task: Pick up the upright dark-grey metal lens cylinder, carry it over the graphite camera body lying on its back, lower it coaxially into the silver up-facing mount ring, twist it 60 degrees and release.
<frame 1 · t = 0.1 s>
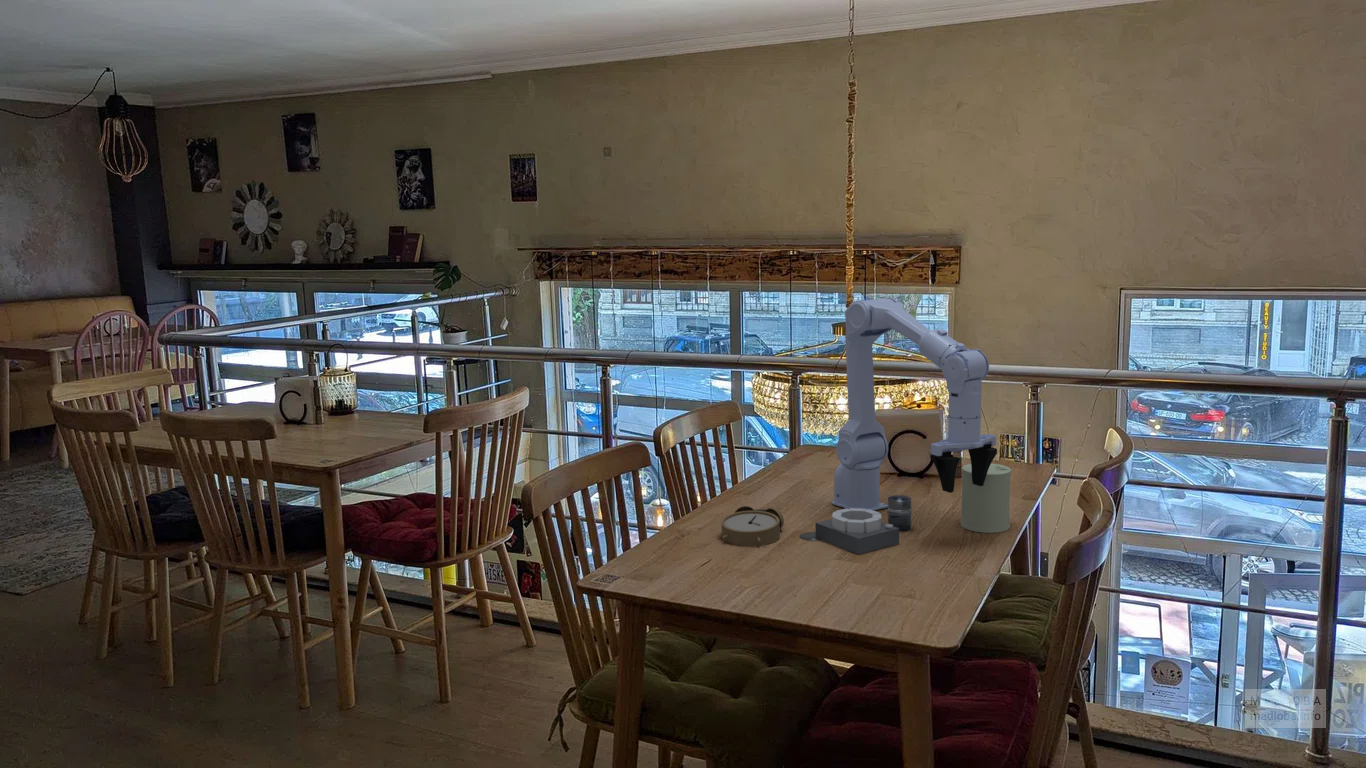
hand: (963, 488, 179), 10 cm above the table, fingers open, 7 cm apart
lens: (899, 527, 189), on the table
alarm clock: (753, 536, 188), on the table
lens cap: (812, 540, 186), on the table, touching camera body
can: (985, 526, 189), on the table
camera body: (856, 540, 182), on the table
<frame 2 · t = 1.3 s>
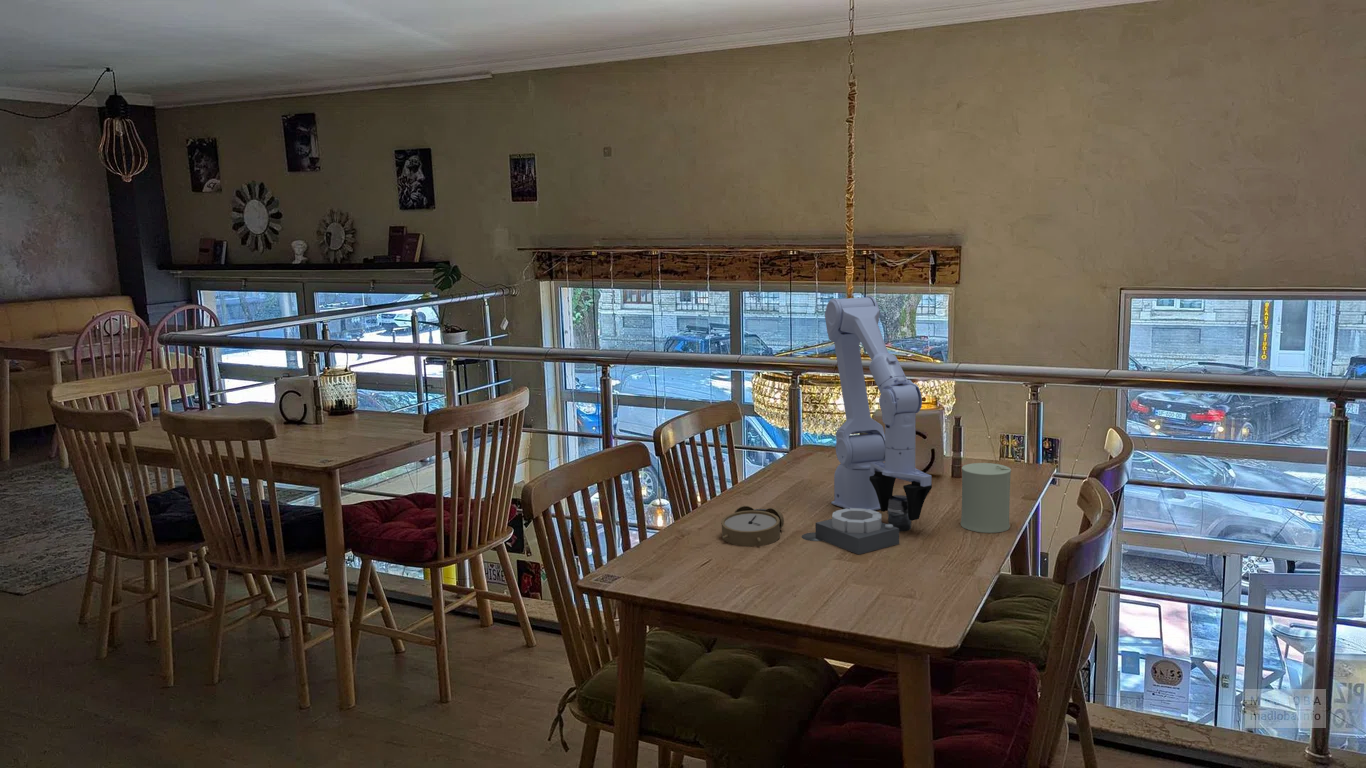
hand: (899, 514, 189), 3 cm above the table, fingers open, 7 cm apart
nothing on the table moved.
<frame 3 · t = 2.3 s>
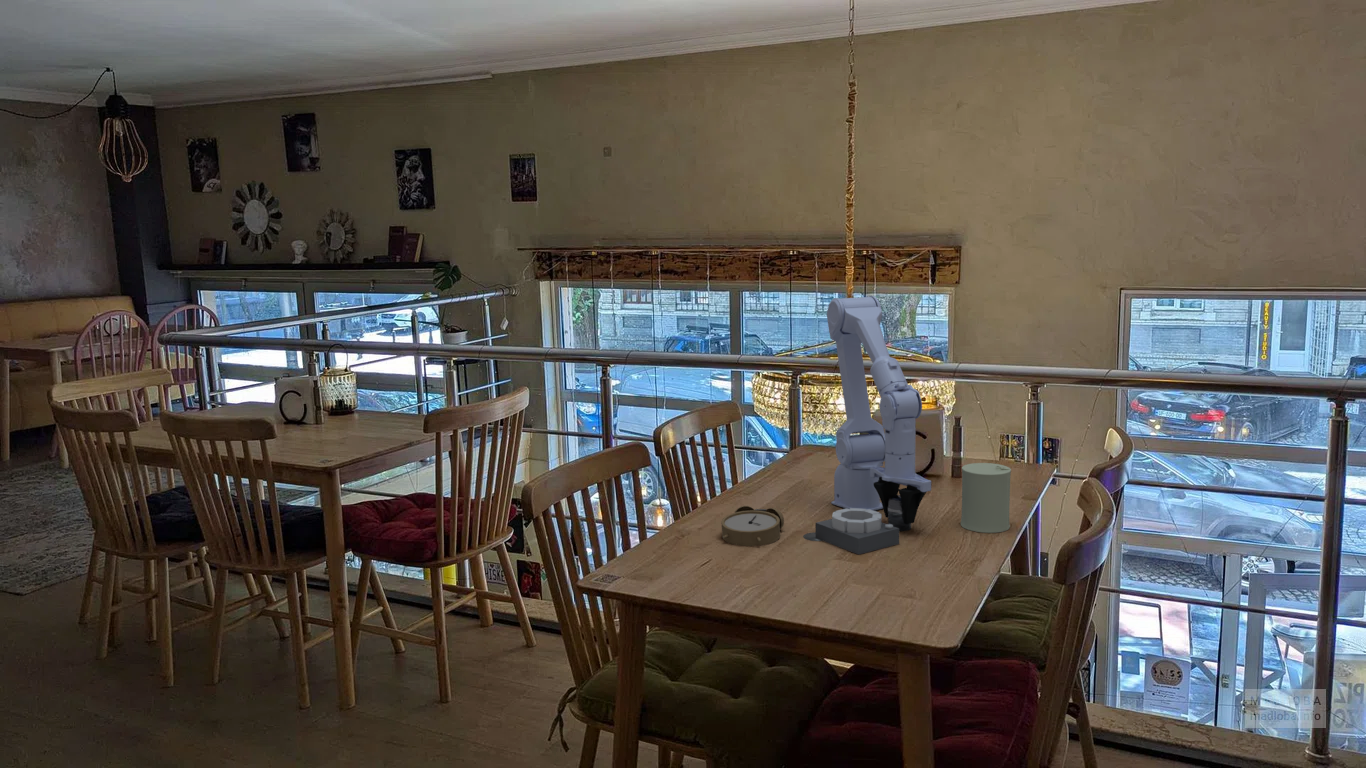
hand: (899, 519, 189), 2 cm above the table, fingers closed on lens, 5 cm apart
lens: (899, 527, 189), on the table, touching gripper
everything else where it was.
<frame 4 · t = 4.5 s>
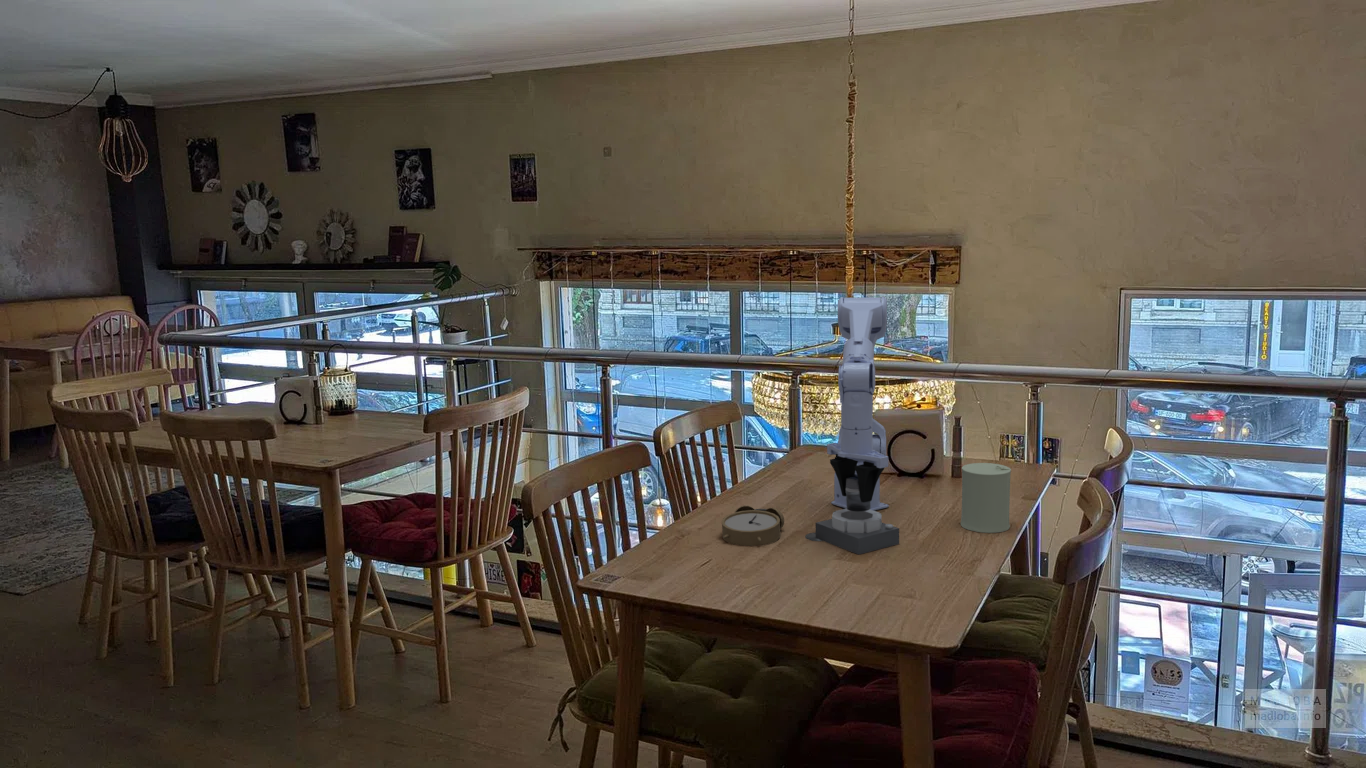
hand: (856, 498, 181), 8 cm above the table, fingers closed on lens, 5 cm apart
lens: (858, 508, 181), point 6 cm above the table, touching gripper
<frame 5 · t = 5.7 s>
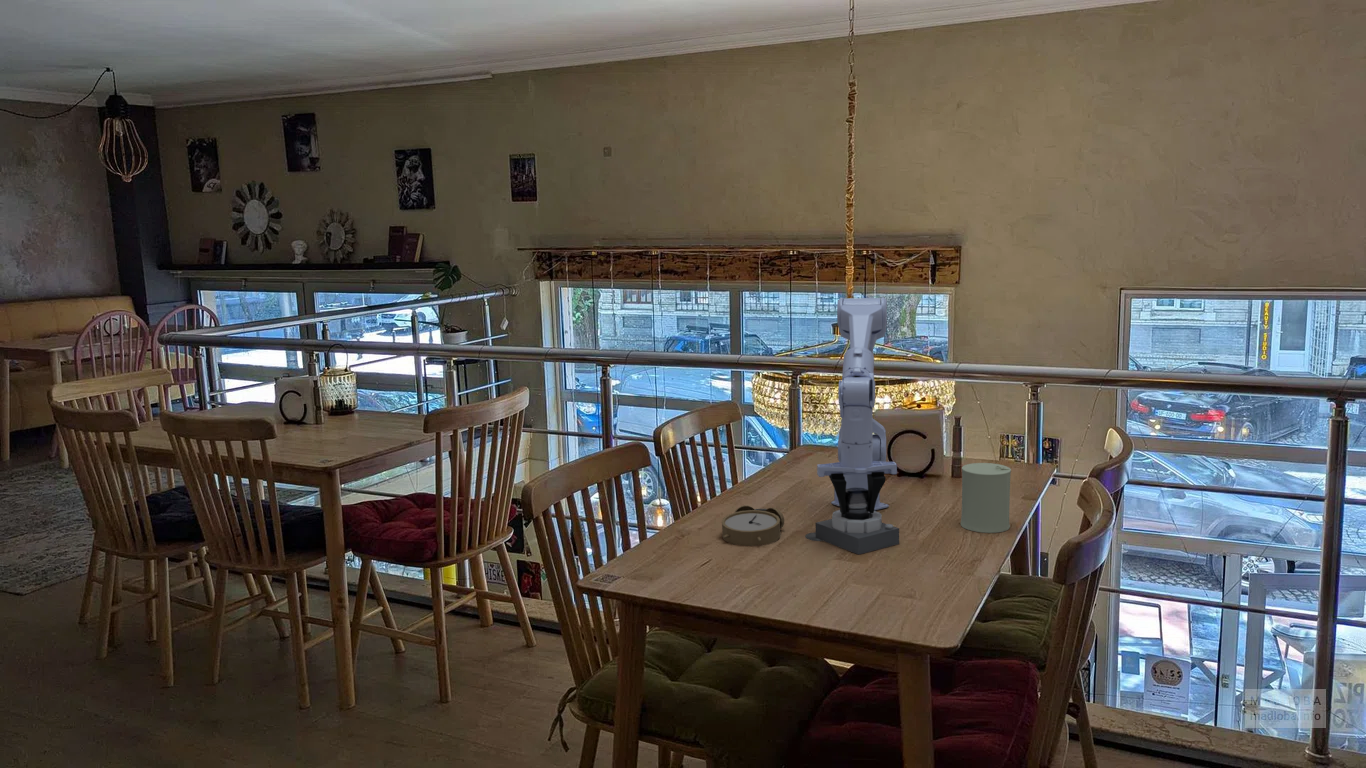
hand: (856, 512, 181), 6 cm above the table, fingers closed on lens, 5 cm apart
lens: (857, 521, 182), point 4 cm above the table, touching gripper
when the fingers open (6 cm above the table, at t = 6.6 s): lens stays where it is, resting on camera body.
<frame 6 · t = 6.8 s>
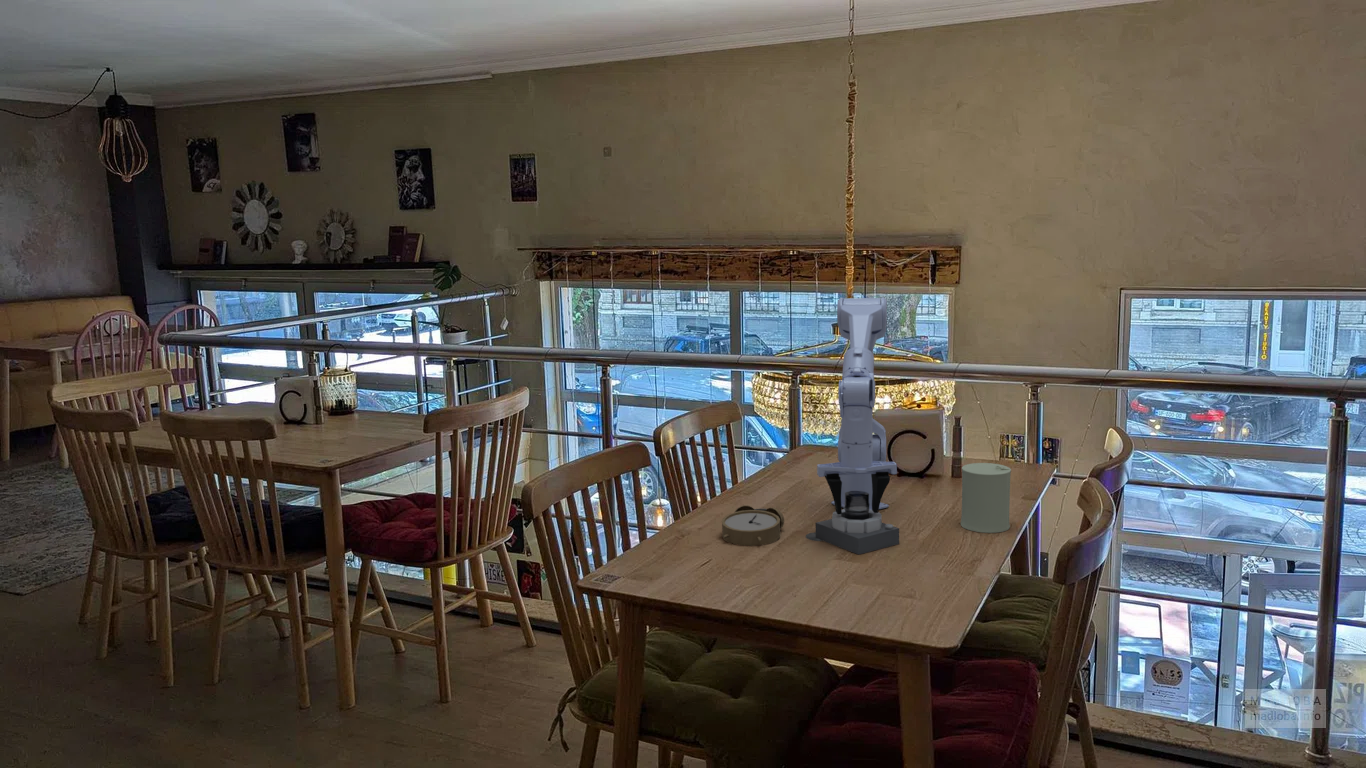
hand: (856, 512, 181), 6 cm above the table, fingers open, 6 cm apart
lens: (856, 524, 182), point 3 cm above the table, touching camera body
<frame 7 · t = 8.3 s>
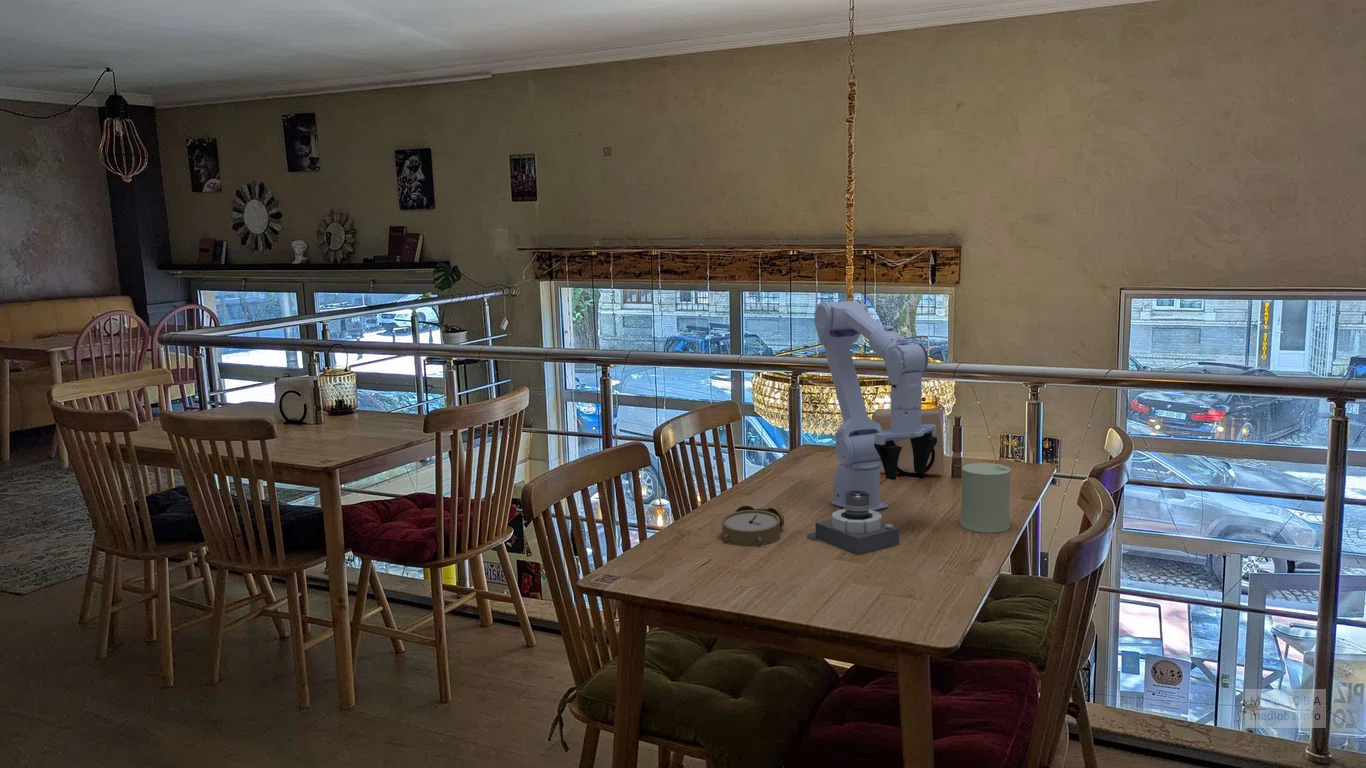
hand: (905, 475, 188), 10 cm above the table, fingers open, 7 cm apart
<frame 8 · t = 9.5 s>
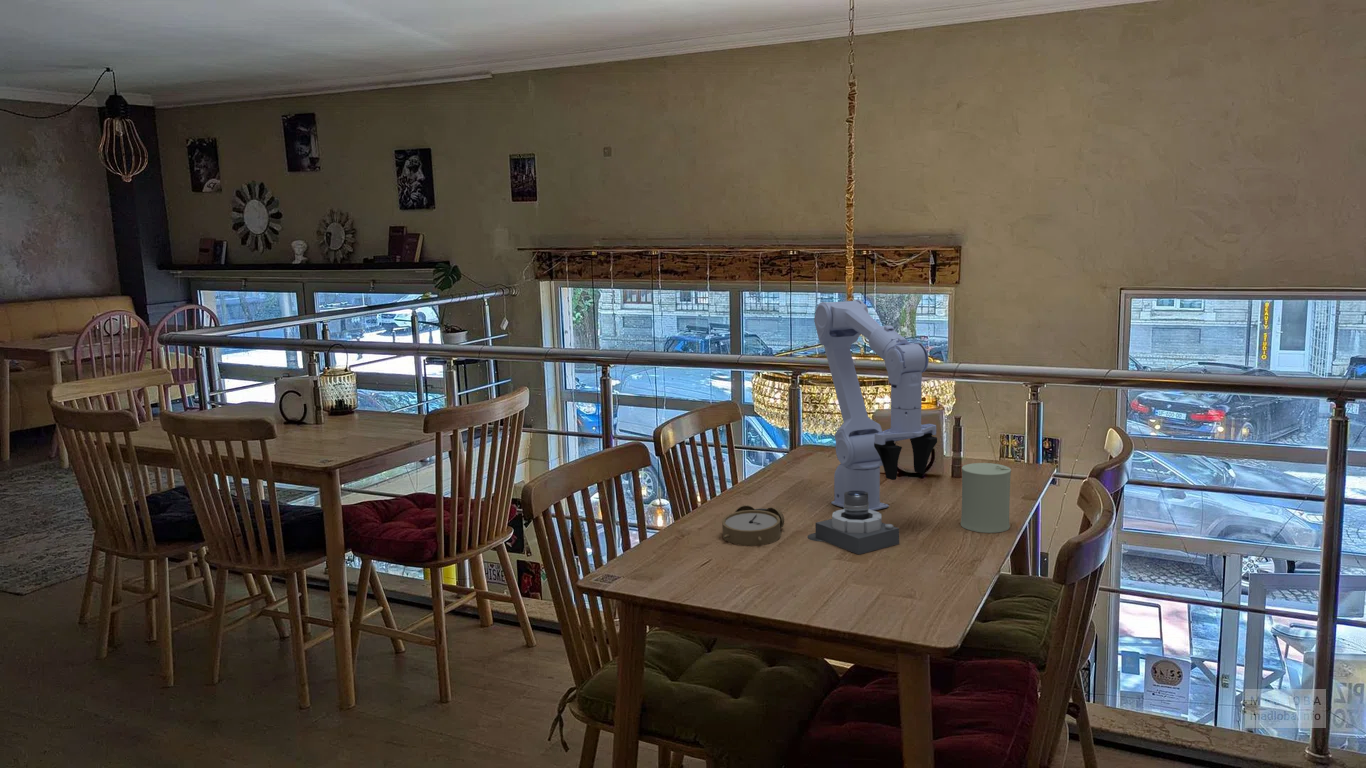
hand: (905, 475, 188), 10 cm above the table, fingers open, 7 cm apart
at the end: lens 0.4 cm off-centre on the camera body, point 3.1 cm above the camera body's base; lens tilted 1°; the gripper is holding nothing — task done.
